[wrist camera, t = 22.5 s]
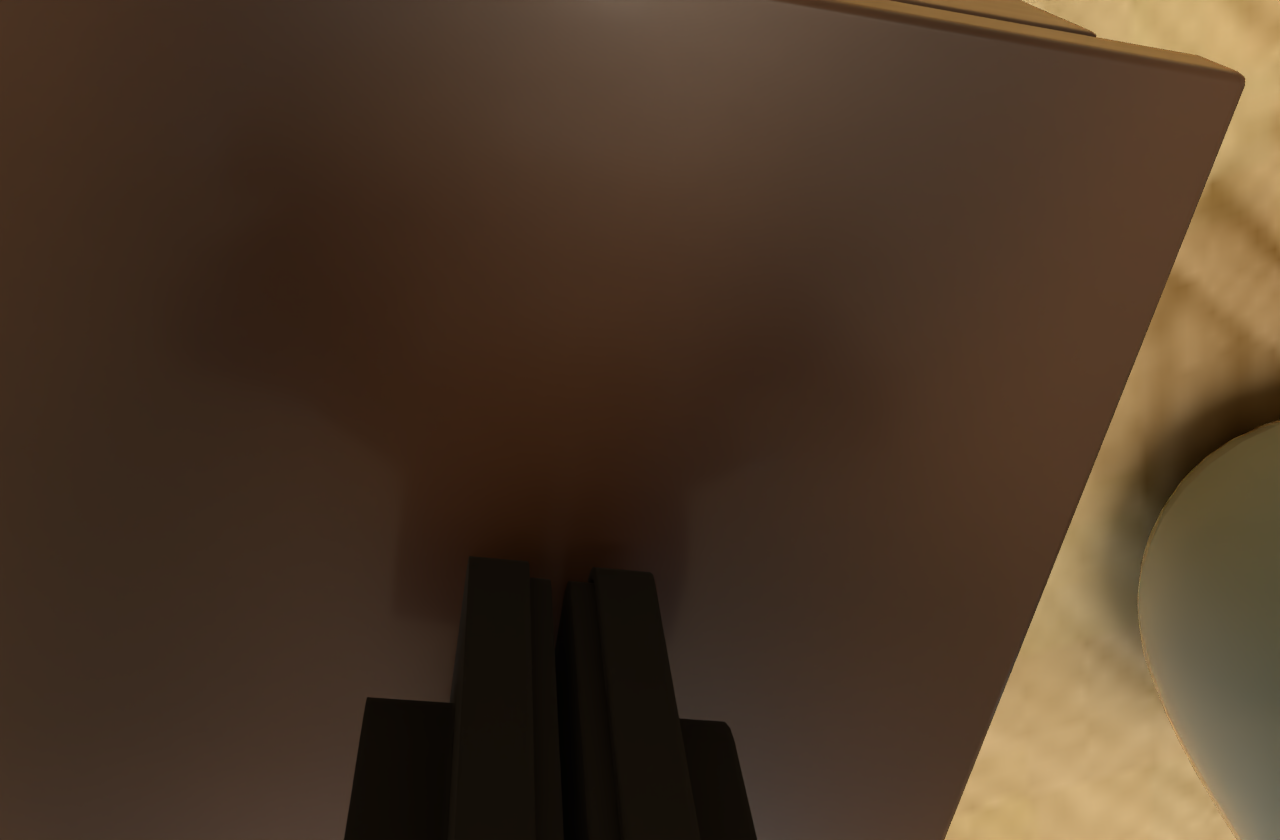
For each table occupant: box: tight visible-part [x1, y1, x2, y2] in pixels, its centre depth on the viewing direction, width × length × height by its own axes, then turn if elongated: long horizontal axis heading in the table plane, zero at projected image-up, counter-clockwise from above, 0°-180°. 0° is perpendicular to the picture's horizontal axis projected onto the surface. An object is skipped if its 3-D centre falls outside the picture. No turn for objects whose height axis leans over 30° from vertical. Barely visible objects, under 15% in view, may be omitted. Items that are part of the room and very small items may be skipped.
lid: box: [0, 0, 1245, 840], centre depth 11 cm, size 16×13×1 cm
